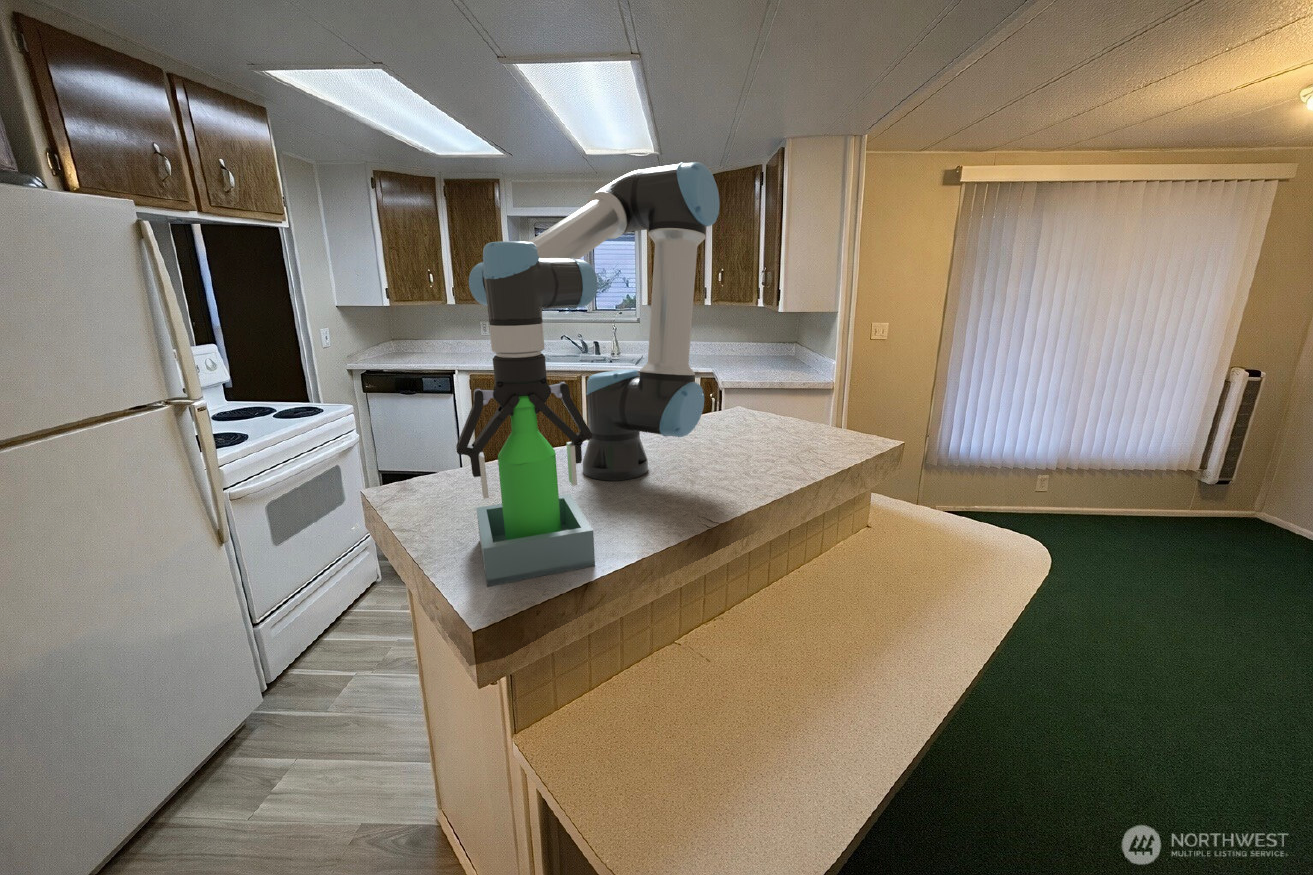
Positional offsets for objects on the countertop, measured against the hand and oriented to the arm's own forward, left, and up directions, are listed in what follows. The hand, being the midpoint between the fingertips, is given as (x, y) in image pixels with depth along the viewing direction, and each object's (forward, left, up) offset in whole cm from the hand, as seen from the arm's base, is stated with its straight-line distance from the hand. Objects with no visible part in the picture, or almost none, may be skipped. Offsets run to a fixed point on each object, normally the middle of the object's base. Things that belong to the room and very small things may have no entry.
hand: (530, 489), depth 86 cm
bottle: (0, 0, -10) cm, 10 cm away
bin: (0, 0, -11) cm, 11 cm away
